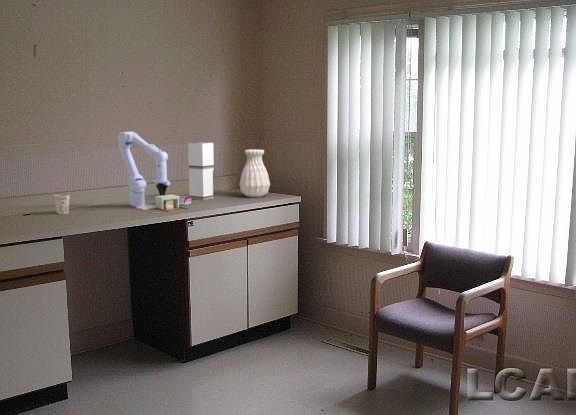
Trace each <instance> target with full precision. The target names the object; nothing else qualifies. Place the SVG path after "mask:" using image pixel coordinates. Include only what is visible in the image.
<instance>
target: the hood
mask: <svg viewBox="0 0 576 415" xmlns="http://www.w3.org/2000/svg"><path fill="white" fill-rule="evenodd" d="M179 196H180V195H176V194H165V195H163V196H160V195H156V196H154V197H155V198H154V199H155V200H154V202H155V206H156V208H159V209H163V200H171V199H172V200H173V207H177V208H179V207H180V205H179Z"/></svg>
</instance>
